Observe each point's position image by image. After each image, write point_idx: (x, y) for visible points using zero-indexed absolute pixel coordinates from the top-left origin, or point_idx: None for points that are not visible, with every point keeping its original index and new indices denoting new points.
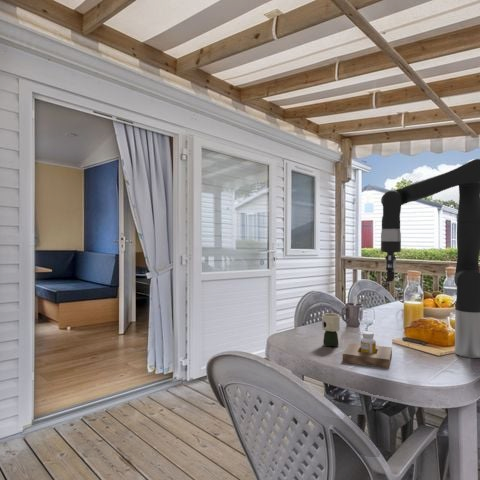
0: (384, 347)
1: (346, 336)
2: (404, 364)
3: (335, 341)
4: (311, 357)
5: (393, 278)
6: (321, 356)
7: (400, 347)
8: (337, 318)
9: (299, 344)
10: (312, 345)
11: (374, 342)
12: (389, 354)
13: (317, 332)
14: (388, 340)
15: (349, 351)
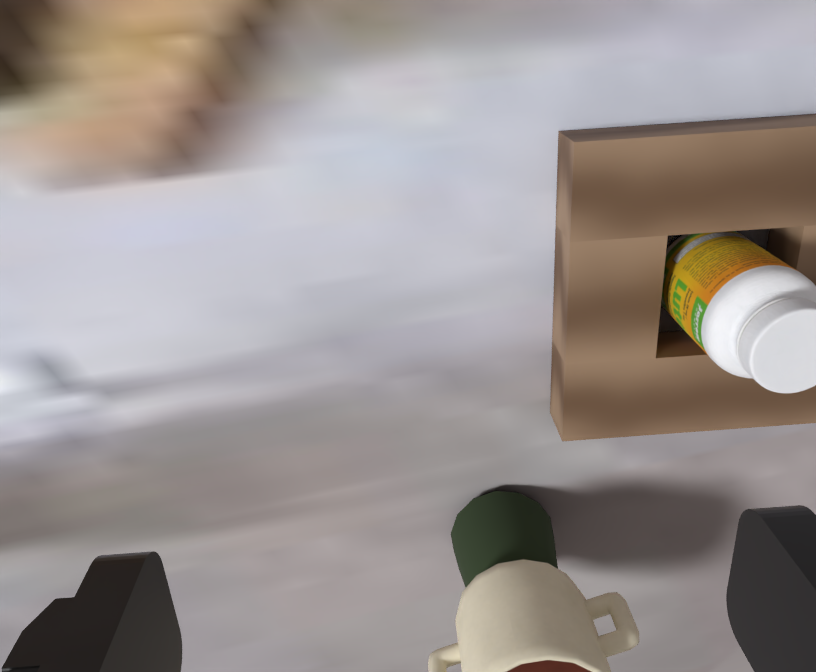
0: (598, 197)
1: (203, 500)
2: (765, 13)
3: (538, 520)
4: None
5: (146, 567)
6: None
7: (293, 90)
8: (578, 643)
9: None
10: None
11: (796, 271)
12: (787, 135)
13: (215, 663)
14: (121, 211)
15: (790, 394)
